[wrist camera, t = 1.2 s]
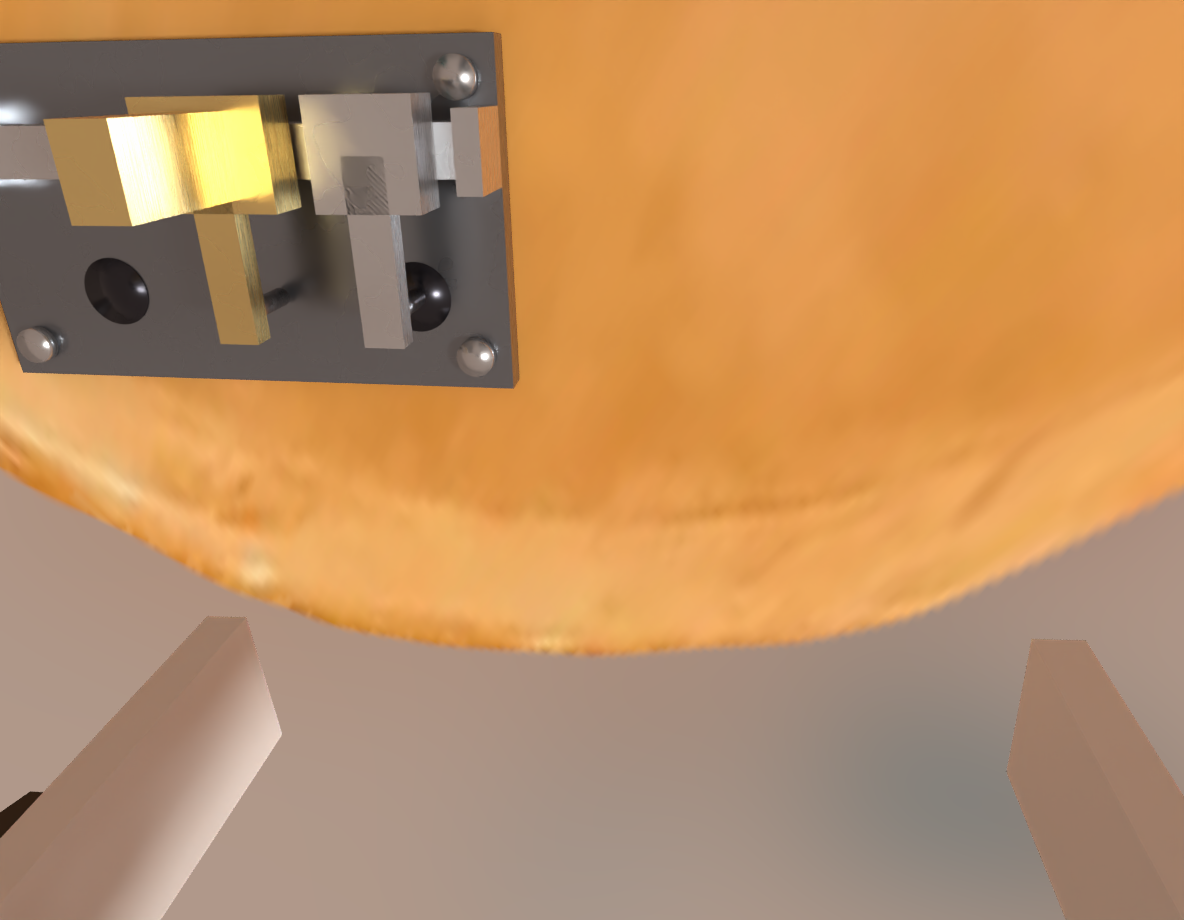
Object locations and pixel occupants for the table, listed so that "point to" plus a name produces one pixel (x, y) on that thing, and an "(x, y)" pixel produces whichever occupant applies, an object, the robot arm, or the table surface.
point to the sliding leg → (189, 184)
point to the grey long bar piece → (357, 181)
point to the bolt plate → (254, 225)
